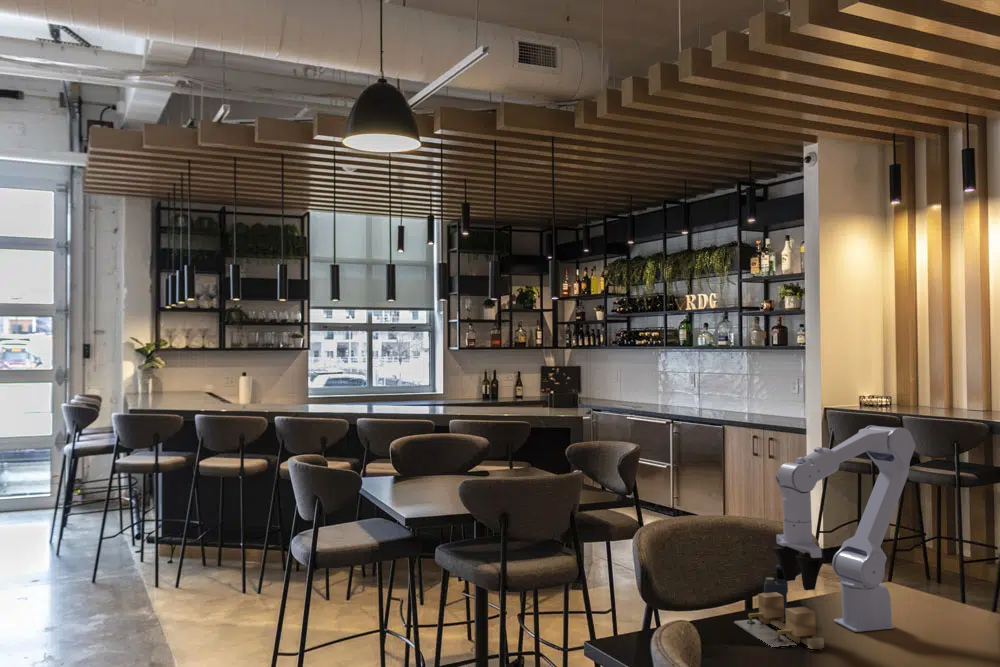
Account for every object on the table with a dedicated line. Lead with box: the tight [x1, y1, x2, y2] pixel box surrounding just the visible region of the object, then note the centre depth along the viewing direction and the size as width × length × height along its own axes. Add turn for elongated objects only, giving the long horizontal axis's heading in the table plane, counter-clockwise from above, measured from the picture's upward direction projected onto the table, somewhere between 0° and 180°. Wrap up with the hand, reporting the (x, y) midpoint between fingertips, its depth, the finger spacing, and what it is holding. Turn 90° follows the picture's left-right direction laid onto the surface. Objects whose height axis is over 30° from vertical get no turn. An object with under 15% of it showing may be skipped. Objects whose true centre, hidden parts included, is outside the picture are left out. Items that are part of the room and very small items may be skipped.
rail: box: [768, 618, 825, 649], centre depth 176 cm, size 3×22×2 cm, turn 11°
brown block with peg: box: [776, 606, 817, 644], centre depth 171 cm, size 8×4×6 cm, turn 101°
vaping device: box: [763, 561, 789, 615], centre depth 189 cm, size 3×5×12 cm, turn 78°
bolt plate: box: [733, 618, 797, 648], centre depth 176 cm, size 5×17×1 cm, turn 11°
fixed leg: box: [747, 592, 785, 625], centre depth 183 cm, size 8×3×6 cm, turn 101°
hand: (799, 584), depth 175 cm, fingers open, 7 cm apart
